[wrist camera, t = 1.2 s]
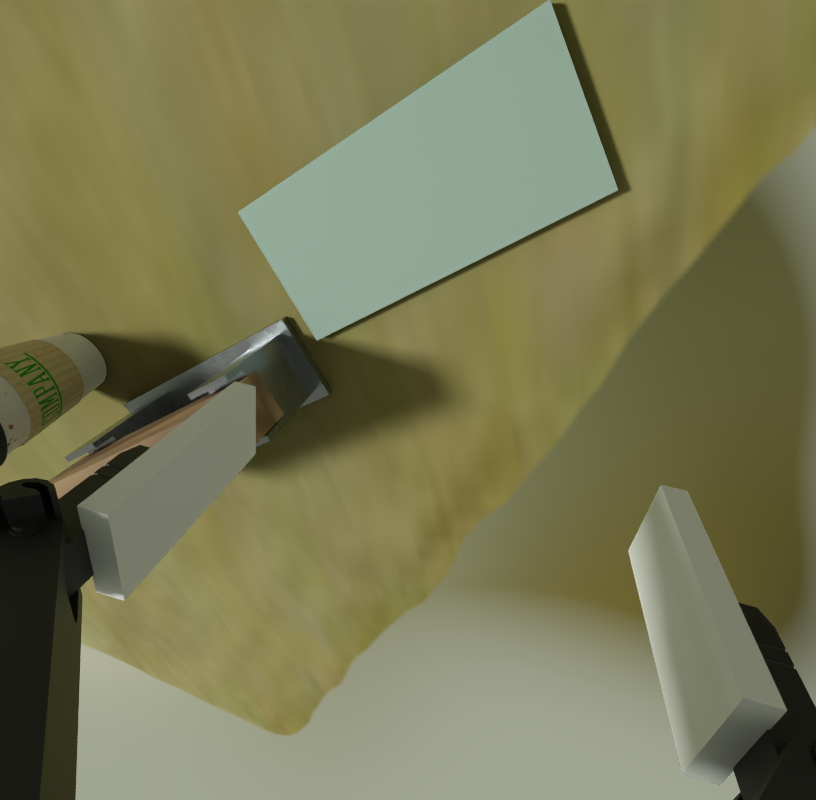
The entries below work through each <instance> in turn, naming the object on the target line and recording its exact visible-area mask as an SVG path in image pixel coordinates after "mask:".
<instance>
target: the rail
mask: <svg viewBox="0 0 816 800" xmlns="http://www.w3.org/2000/svg"><path fill="white" fill-rule="evenodd" d="M235 382H239V383H244V384H248V385H252V386H256V444H257V443H258V442H259V441H260V440H261V438H262V437H263V436H264V435H265V434H266V433H267V432H268V431H269V430H270V429H271V428H272V426H273V425H274V424H275V423H276V422H277V421H278V420H279V419H280V418H281V417H282V416H283V414H284V413H283V411H282V410H281V408H280V407H279V406H278V404H277V403H276V401H275V400H274V398H273V397H272V395H271V394H270V392H269V391H268V389H267V388H266V386H265V385H264V383H263V382H262V380H261V379H260V377H259V376H258V374H257V373H256V371H255V372H253V373H251V374H249V375H247V376H245V377H243V378H241V379H239V380H237V381H235ZM231 384H232V383H231ZM229 385H230V384H229ZM229 385H227V386H225V387H223V388H221V389H219V390H217V391H215V392H213V393H211V394H209V395H207V396H205V397H203V398H201V399H199V400H197V401H195V402H193V403H191V404H189V405H187V406H185V407H183V408H181V409H179V410H177V411H175V412H173V413H171V414H169V415H167V416H165V417H163V418H161V419H159V420H157V421H155V422H153V423H151V424H149V425H147V426H145V427H143V428H141V429H139V430H137V431H135V432H133V433H131V434H129V435H127V436H125V437H123V438H121V439H119V440H117V441H115V442H113V443H111V444H109V445H107V446H105V447H103V448H101V449H99V450H97V451H95V452H93V453H91V454H89V455H87V456H85V457H83V458H81V459H80V460H79V461H77V462H76V463H74V464H73V465H71V466H70V467H69V468H67V469H66V470H64V471H63V472H61V473H60V474H59V475H57V476H56V477H54V478H53V479H51V480H50V481H49V482H51V483H52V484H54V486H55V489H56V492H57V496H58V499H59V498H61V497H62V496H63V495H65V494H66V493H68V492H69V491H70V490H72V489H73V488H74V487H76V486H77V485H78V484H80V483H81V482H82V481H84V480H85V479H86V478H88V477H89V476H90V475H94V472H96V471H97V470H98V469H100V468H101V467H102V466H106V463H108V462H109V461H110V460H112V459H113V458H114V457H116V456H117V455H118V454H120V453H121V452H124V451H126V450H129V449H131V448H134V447H136V446H139V445H143V446H146V447H150V448H151V447H152V446H153V445H155V444H156V443H157V442H158V441H160V440H161V439H162V438H164V437H165V436H166V435H167V434H169V433H170V432H171V431H172V430H174V429H175V428H176V427H177V426H179V425H180V424H181V423H182V422H184V421H185V420H186V419H188V418H189V417H190V416H191V415H193V414H194V413H195V412H196V411H198V410H199V409H200V408H201V407H203V406H204V405H205V404H206V403H208V402H209V401H210V400H212V399H213V398H214V397H215V396H217V395H218V394H219V393H220V392H222V391H223V390H224V389H225V388H227V387H228V386H229Z"/></svg>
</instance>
